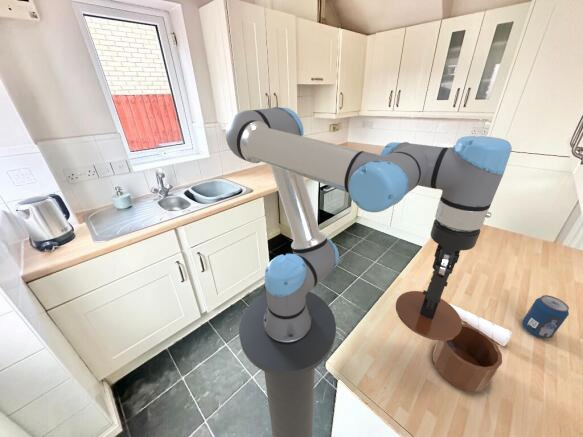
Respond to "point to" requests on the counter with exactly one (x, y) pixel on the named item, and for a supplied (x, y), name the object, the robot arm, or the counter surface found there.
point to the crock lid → (438, 328)
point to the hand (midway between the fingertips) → (428, 310)
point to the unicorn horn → (485, 326)
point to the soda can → (545, 316)
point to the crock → (468, 359)
